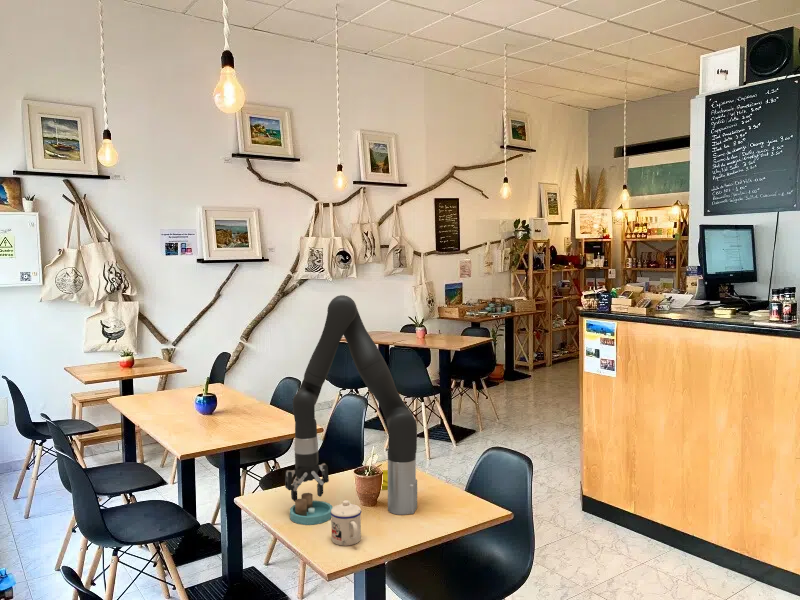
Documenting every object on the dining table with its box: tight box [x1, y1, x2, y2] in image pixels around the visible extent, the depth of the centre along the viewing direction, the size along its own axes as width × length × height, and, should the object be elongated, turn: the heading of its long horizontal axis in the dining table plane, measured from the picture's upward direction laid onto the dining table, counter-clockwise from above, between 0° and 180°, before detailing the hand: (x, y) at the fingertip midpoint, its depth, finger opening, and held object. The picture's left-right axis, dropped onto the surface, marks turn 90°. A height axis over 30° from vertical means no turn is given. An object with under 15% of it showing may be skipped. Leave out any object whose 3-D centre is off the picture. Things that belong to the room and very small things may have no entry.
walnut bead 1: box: [294, 498, 307, 516], centre depth 205 cm, size 4×4×5 cm
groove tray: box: [289, 500, 334, 526], centre depth 207 cm, size 14×14×2 cm
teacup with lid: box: [330, 499, 363, 547], centre depth 188 cm, size 12×9×12 cm
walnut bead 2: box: [300, 492, 314, 512], centre depth 210 cm, size 4×4×5 cm
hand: (307, 498), depth 210 cm, fingers open, 8 cm apart
